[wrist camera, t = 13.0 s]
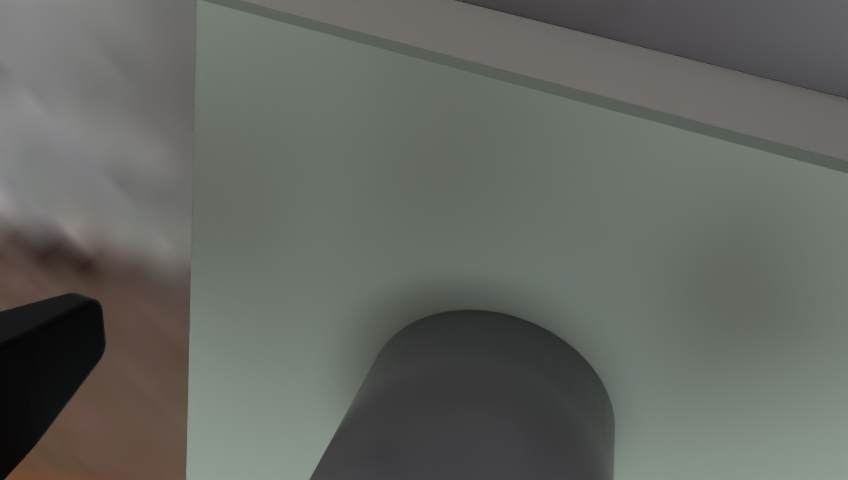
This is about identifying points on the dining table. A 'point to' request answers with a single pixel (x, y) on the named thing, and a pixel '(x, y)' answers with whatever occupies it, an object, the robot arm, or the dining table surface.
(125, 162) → the dining table surface
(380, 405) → the gray rounded pebble
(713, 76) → the box
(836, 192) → the lid
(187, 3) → the dining table surface
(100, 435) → the dining table surface
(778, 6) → the dining table surface
